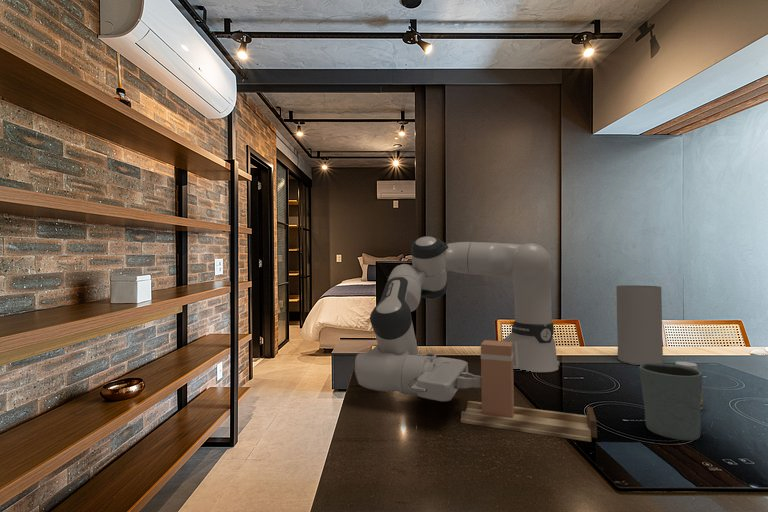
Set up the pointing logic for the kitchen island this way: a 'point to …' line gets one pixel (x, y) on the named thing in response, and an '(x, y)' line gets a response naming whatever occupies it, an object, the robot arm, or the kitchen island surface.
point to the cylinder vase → (639, 324)
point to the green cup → (672, 400)
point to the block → (497, 378)
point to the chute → (536, 422)
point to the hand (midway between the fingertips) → (481, 382)
